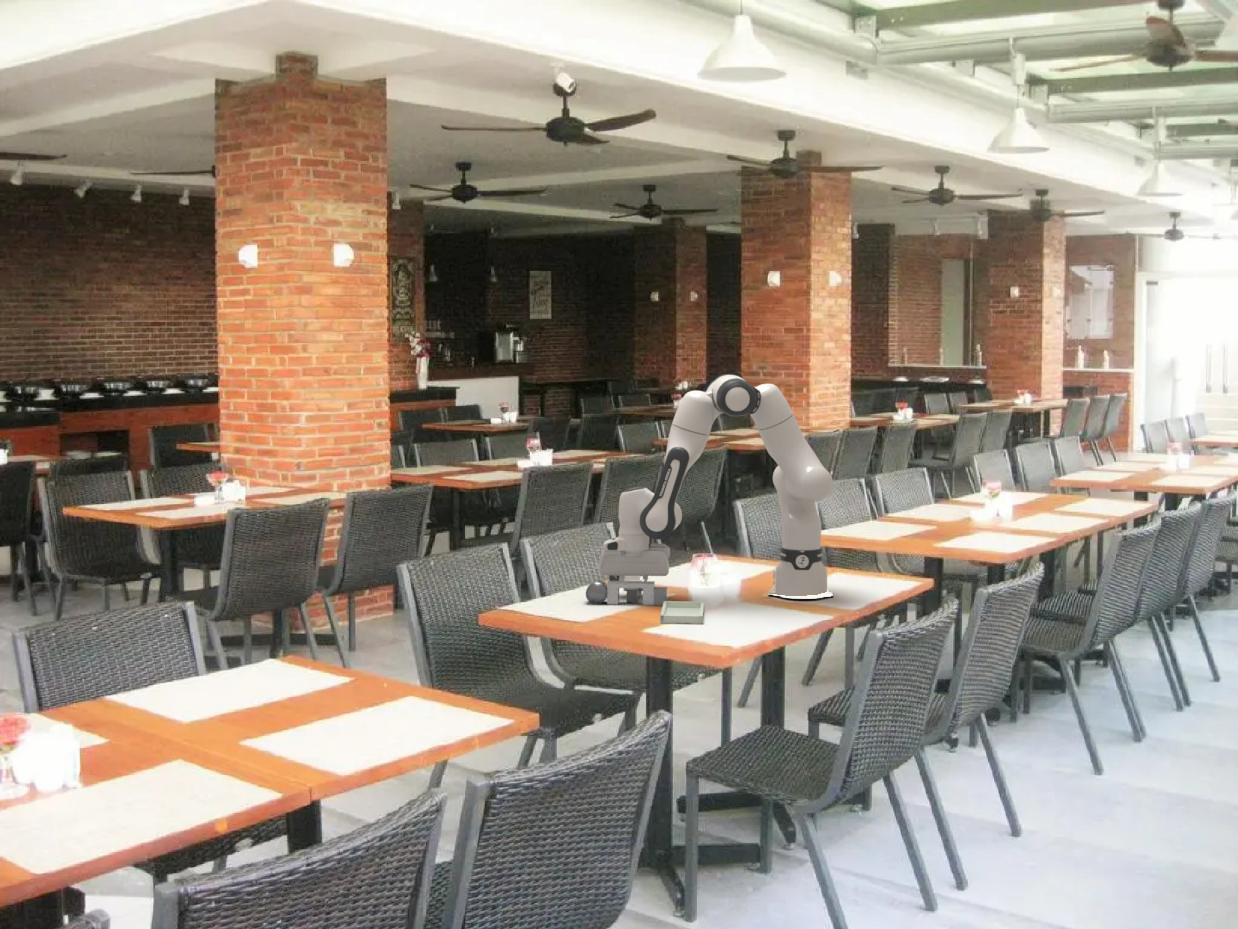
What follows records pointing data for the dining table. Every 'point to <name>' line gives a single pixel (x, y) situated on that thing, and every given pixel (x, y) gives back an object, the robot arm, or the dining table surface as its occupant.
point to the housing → (601, 590)
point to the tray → (682, 612)
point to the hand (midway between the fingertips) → (633, 590)
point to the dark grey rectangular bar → (633, 593)
